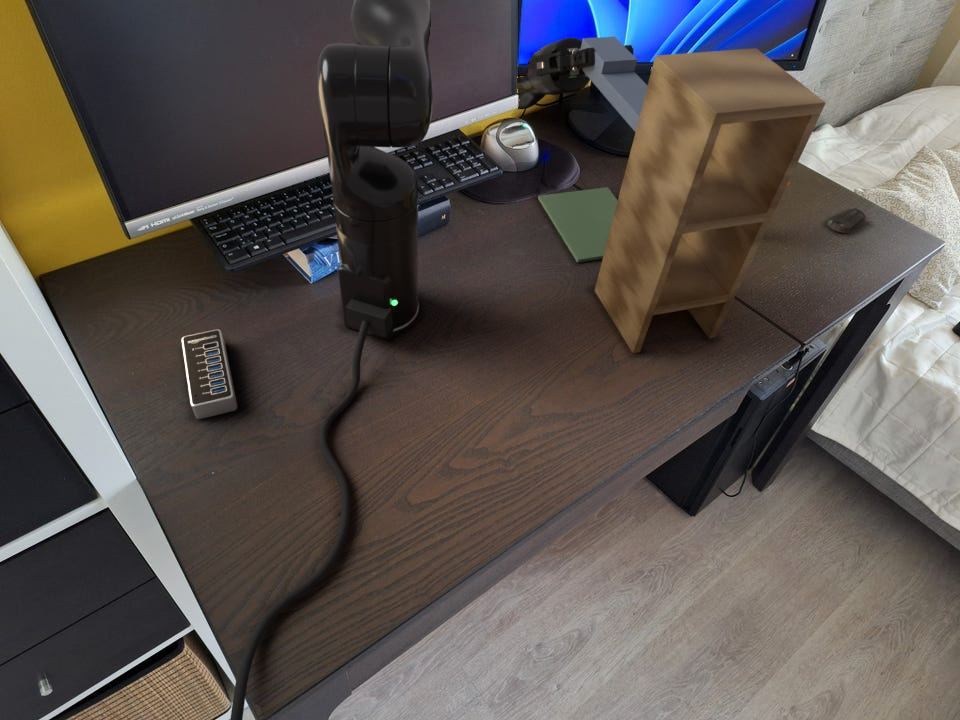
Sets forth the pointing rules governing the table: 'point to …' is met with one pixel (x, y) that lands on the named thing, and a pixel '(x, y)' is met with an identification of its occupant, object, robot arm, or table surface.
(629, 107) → the grey stepped plank
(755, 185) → the open shelf unit
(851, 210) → the dark grey rounded device
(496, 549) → the table surface
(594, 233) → the mat
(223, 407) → the multiport hub
